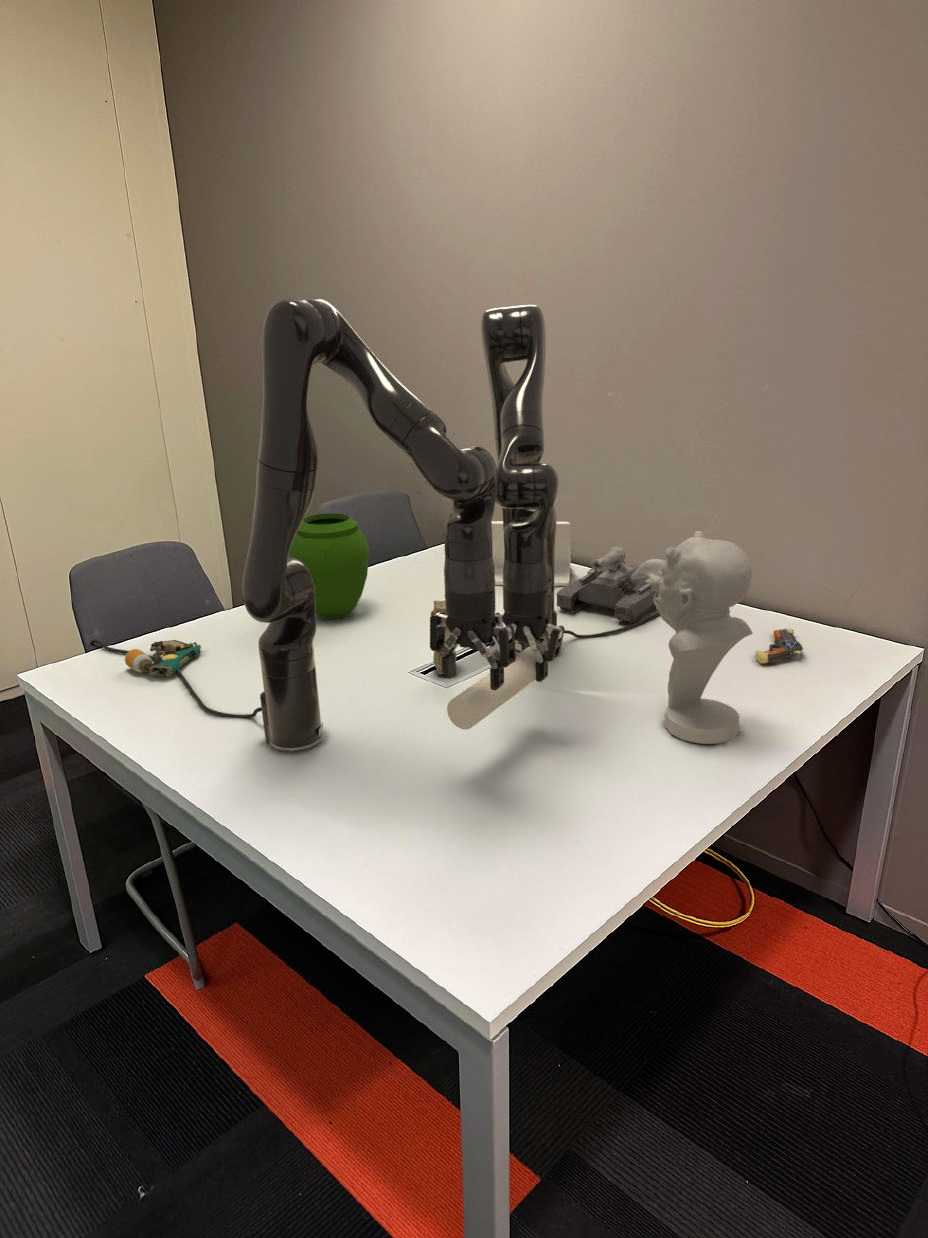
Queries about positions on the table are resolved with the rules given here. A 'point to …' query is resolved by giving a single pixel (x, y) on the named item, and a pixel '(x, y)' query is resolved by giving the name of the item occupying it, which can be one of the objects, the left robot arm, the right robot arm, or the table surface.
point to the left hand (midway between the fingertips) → (473, 682)
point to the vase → (333, 561)
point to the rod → (492, 692)
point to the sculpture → (437, 657)
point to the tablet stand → (561, 553)
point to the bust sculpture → (699, 629)
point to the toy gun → (780, 646)
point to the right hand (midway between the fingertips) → (525, 676)
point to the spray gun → (162, 657)
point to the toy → (610, 589)
